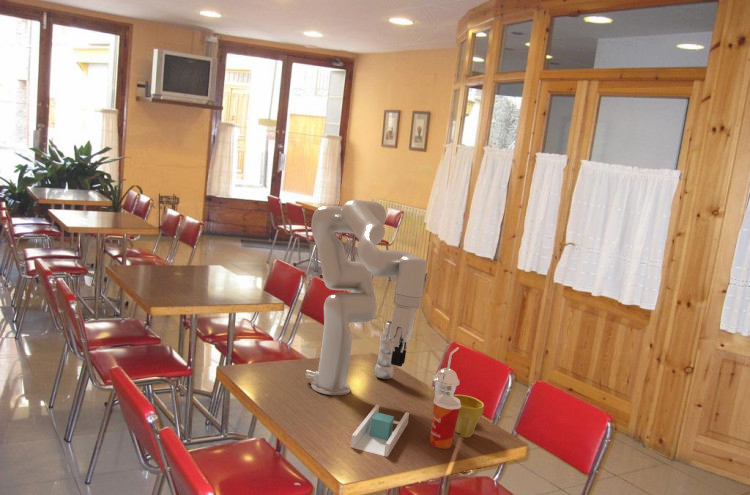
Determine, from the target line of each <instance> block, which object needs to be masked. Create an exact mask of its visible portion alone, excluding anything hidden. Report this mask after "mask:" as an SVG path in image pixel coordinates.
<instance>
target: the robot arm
mask: <svg viewBox="0 0 750 495" xmlns="http://www.w3.org/2000/svg"><path fill="white" fill-rule="evenodd" d="M386 221H387V212H386V209H385V207H384V206H383V205H382V204H381V203H380V202H377V201H373V200H372V201H371V200H362V199H352V200H349V201H347V202H345V203H344V204H343V205H342V206H339V205H338V206H337V205H324V206H320V207H318V208H317V209H316V210H315V211H314V213H313V214H312V217H311V232H312V236H313V240H314V242H315V245H316V248H317V250H318V256H319V261H320V267H321V273H322V278H323V282H324V285H325V287H326V288H327V289H329V290H331V291H352V292H335V293H332V294H331V295H328V297H326V298H325V301H324V304H323V321H324V322H323V323H324V324H323V330H322V331H323V333H322V341H321V349H320V356H319V361H318V362H319V363H318V370H316V371H313V370H310V369H306V371H305V373H304V374H305V376H306V379H311V380H312V381H311V382H310V383H311V385H310V386H311V388H312V389H313V391H315V392H317V393H320V394H324V395H327V396H328V395H329V396H344V395H348V394H349V393H350V391H351V386H350V385H349V384H348V383H347V380H348V373H349V367H350V366H349V365H350V359H351V353H352V346H353V333H352V330H351V328H350V327H349V324H352V323H368V322H371V321H373V319H375V317H376V314H377V308H378V307H377V299H376V294H375V288H374V285H373V279H372V275H373V276H375V277H381V278H382V277H383V278H384V277H389V278H390V277H391V278H396V282H395V290H394V298H393V305H394V306H395V308H394V310H393V311H394V312H393V315H392V319H391V322H392V323H391V329H390V334H389V340H390V341H391V340H392V339H394V338H395V341H394V347H393V352H392V359H391V364H392V365H393V366H396V367H402V366H403V365H404V364H405V361H406V353H407V347H408V341H409V340H410V339H411V337H412V334H413V331H414V324H415V318H416V312H417V311H416V310H419V309H420V308H421V303H422V297H423V290H424V284H425V279H426V271H427V265H428V263H427V261H426V259H424V258H423V257H419V256H415V255H413V254H412V253H410V252H408V251H405V250H392V249H379V248H378V247H377V245H378V244H380V243H381V241H383V239H384V237H385V235H386V229H385V223H386ZM336 233H341V234H354V235H355V237H356V238H357V239H358V243H357V255H358V259H359V261H352V260H351V261H349V260H348V258H347V255H346V250H345V247H344V244H343V243H342V241H341V240H340V238H338V236H337V235H336Z"/></svg>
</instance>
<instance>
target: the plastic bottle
mask: <svg viewBox="0 0 750 495" xmlns="http://www.w3.org/2000/svg"><path fill="white" fill-rule="evenodd" d="M391 323H392V320H391V321H387V320H386V322H385V325H384V326H385V329H384V330H382V332H381V333H380V334H379V350H378V357H377V361H376V364H375V367H374V374H375V376H376V377H377V378H379V379H382V380H390V379H391V378H392V377H393V375H394V365H392V364H391V359H392V352H393V347H394V341H395V338H394V339H392V340H391V341H390V340H389V334H390V329H391Z"/></svg>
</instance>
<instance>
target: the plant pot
mask: <svg viewBox="0 0 750 495" xmlns="http://www.w3.org/2000/svg"><path fill="white" fill-rule="evenodd" d="M452 396H454V397H456V398H458V399H459V400H460V404H461V408H460V409H459V414H458V418H457V422H456V427H455V431H454V433H457V434H459V435H458V437H459V438H471V437H472V436H473V434H474V431H475V428H476V426H477V424H478V421H479V419H481V418H482V416H483V413H484V409H485V404H484V402H482V401H481V400H479V399H478V398H476V397H473V396H469V395H465V394H453V395H452Z"/></svg>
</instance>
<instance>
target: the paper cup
mask: <svg viewBox="0 0 750 495" xmlns="http://www.w3.org/2000/svg"><path fill="white" fill-rule="evenodd" d="M432 402H433V410H432V418H431V430H430V438H429V439H430V440H429V442H430V445H432V446H433V447H435V448H439V449H450V448H451V447H452V443H453V438H454V434H455V432H454V431H455V427H456V422H457V418H458V414H459V409H460V408H461V404H460V400H459V399H458V398H456V397H454V396H449V395H443V394H440V395H437V396H436V397H435V396H434V398H433V400H432Z"/></svg>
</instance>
